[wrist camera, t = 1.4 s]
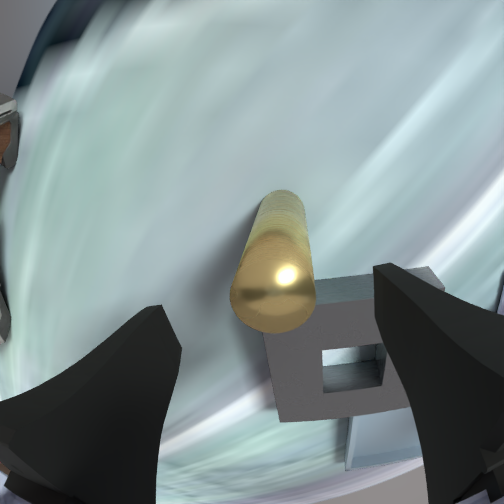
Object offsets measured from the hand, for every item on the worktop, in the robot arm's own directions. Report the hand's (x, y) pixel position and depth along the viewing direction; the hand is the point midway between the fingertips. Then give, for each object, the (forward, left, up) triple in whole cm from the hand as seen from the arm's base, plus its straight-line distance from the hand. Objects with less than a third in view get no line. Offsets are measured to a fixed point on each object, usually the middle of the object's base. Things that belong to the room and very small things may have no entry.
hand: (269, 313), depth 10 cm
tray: (-11, +24, -10) cm, 28 cm away
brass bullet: (0, 0, -10) cm, 10 cm away
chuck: (-4, +11, -10) cm, 15 cm away
